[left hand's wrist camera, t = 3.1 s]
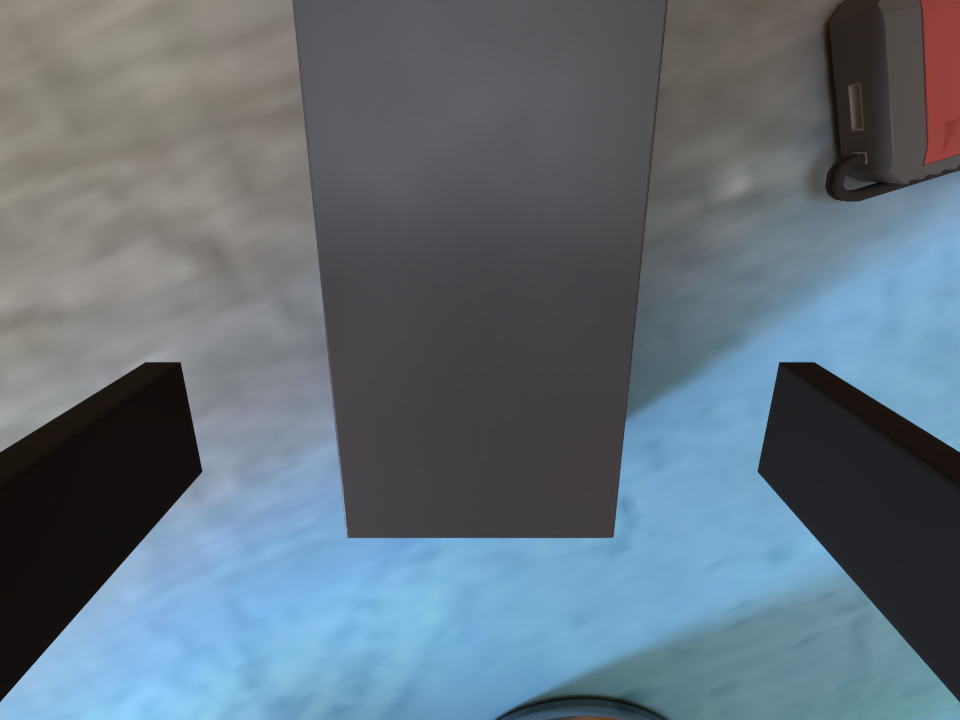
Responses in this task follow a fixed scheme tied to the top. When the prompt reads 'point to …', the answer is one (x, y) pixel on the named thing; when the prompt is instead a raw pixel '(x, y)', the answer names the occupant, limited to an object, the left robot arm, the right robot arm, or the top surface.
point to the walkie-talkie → (895, 93)
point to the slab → (480, 253)
